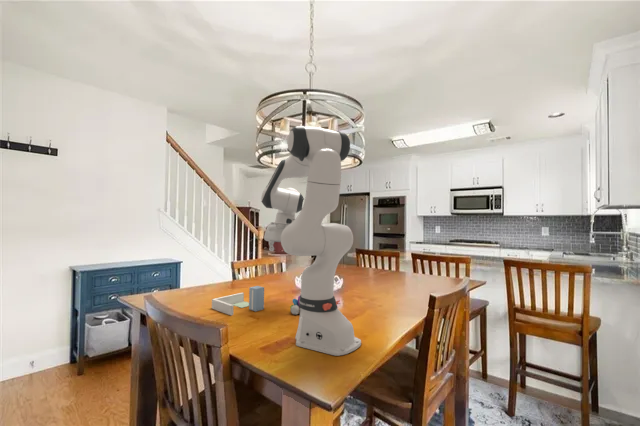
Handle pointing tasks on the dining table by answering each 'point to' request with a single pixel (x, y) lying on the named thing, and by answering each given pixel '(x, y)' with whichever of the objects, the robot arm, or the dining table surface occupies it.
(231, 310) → the side wall
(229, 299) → the back wall
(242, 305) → the pad
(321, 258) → the robot arm
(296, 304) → the colourful small cluster
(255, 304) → the block
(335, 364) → the dining table surface
